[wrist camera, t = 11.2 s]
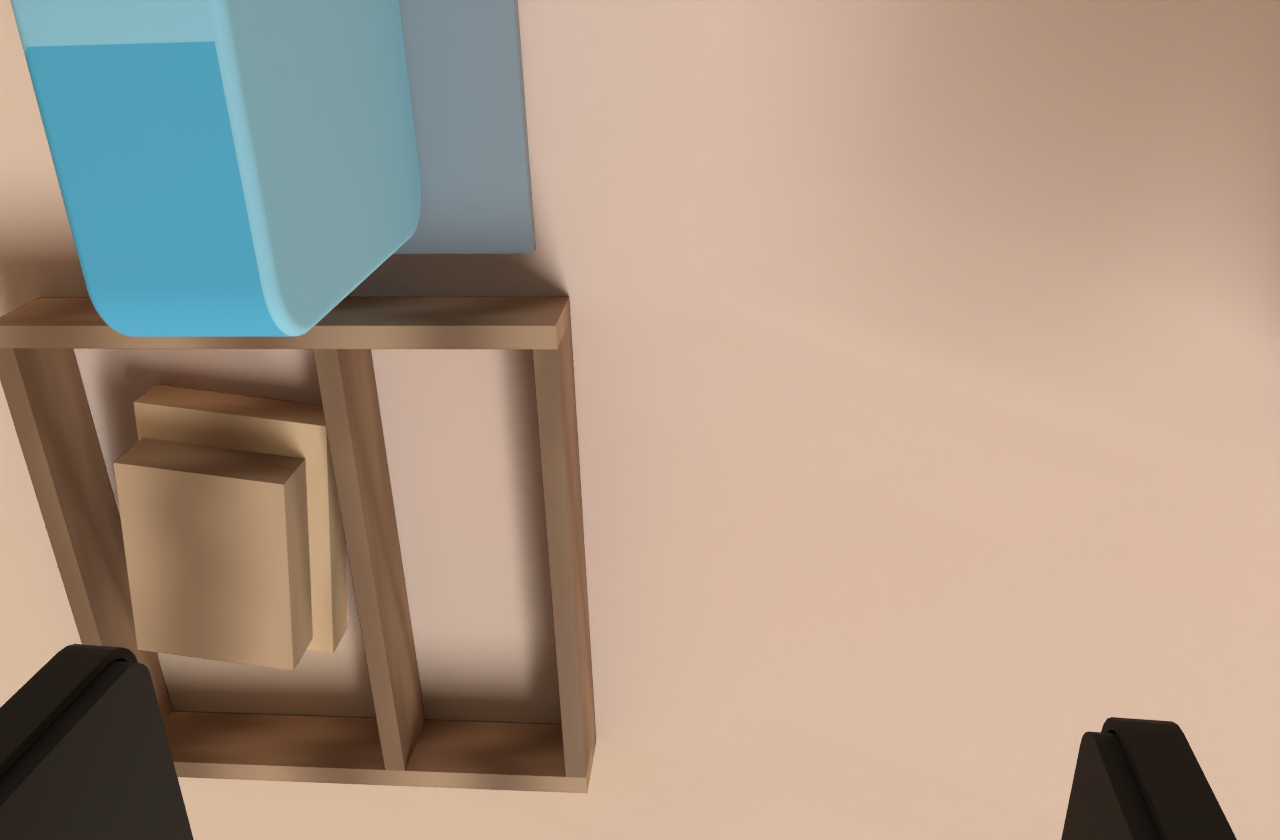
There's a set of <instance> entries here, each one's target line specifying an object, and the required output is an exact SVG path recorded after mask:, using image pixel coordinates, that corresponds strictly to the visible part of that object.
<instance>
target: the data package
mask: <svg viewBox="0 0 1280 840" xmlns="http://www.w3.org/2000/svg"><path fill="white" fill-rule="evenodd" d="M11 4H12V8H13V12H14V15H15V19H16V23H17V27H18V31H19V34H20V38H21V42H22V46H23V50H24V53H25V57H26V61H27V65H28V68H29V72H30V76H31V80H32V84H33V87H34V91H35V95H36V99H37V102H38V106H39V110H40V114H41V118H42V121H43V125H44V129H45V133H46V137H47V140H48V144H49V148H50V152H51V155H52V159H53V163H54V167H55V171H56V174H57V178H58V182H59V186H60V189H61V193H62V197H63V201H64V205H65V208H66V212H67V216H68V220H69V224H70V227H71V231H72V235H73V239H74V242H75V246H76V250H77V254H78V258H79V261H80V265H81V269H82V273H83V276H84V280H85V284H86V287H87V291H88V294H89V296H90V299H91V301H92V303H93V305H94V307H95V309H96V311H97V312H98V314H99V315H100V317H101V318H102V319H103V320H104V322H105V323H106V324H107V325H108V326H110V327H111V328H112V329H114V330H115V331H117V332H118V333H121V334H123V335H126V336H131V337H290V336H300V335H302V334H305V333H306V332H308V331H309V330H310V329H311V328H312V327H314V326H315V325H316V324H317V323H318V322H319V321H320V320H321V319H322V318H323V317H324V316H326V315H327V314H328V313H329V312H330V311H331V310H332V309H333V308H334V307H335V306H336V305H338V304H339V303H340V302H341V301H342V300H343V299H344V298H345V297H346V296H347V295H348V294H350V293H351V292H352V291H353V290H354V289H355V288H356V287H357V286H358V285H359V284H360V283H362V282H363V281H364V280H365V279H366V278H367V277H368V276H369V275H370V274H371V273H372V272H374V271H375V270H376V269H377V268H378V267H379V266H380V265H381V264H382V263H383V262H384V261H386V260H387V259H388V258H389V257H390V256H391V255H392V254H393V253H394V252H395V251H396V250H398V249H399V248H400V247H401V246H402V245H403V244H404V243H405V242H406V241H407V240H408V239H410V238H411V236H412V235H413V234H414V232H415V230H416V228H417V225H418V222H419V217H420V209H421V180H420V171H419V163H418V155H417V146H416V138H415V130H414V121H413V113H412V104H411V96H410V88H409V79H408V71H407V63H406V54H405V46H404V38H403V29H402V21H401V13H400V4H399V0H11Z"/></svg>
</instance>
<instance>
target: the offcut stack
mask: <svg viewBox="0 0 1280 840" xmlns="http://www.w3.org/2000/svg"><path fill="white" fill-rule="evenodd" d="M134 410H135V419H136V427H137V436H138V442H137V443H136V444H135V445H134V446H133V447H132V448H130V449H129V450H128V451H127V452H126V453H124V454H123V455H122V456H121V457H120V458H118V459H117V460H116V461H115V462H114V463H113V464H114V471H115V479H116V487H117V494H118V502H119V510H120V517H121V525H122V533H123V540H124V548H125V556H126V563H127V571H128V579H129V586H130V594H131V602H132V609H133V617H134V625H135V632H136V640H137V648H138V650H144V651H151V652H159V653H166V654H174V655H181V656H189V657H196V658H204V659H211V660H219V661H226V662H234V663H241V664H249V665H256V666H264V667H271V668H279V669H286V670H294V669H295V667H296V666H297V664H298V662H299V661H300V659H301V657H302V656H303V654H304V652H305V651H306V650H313V651H321V652H328V653H334V651H335V649H336V647H337V646H338V644H339V642H340V640H341V639H342V637H343V635H344V633H345V631H346V630H347V602H346V562H345V532H344V526H343V520H342V514H341V509H340V503H339V497H338V491H337V485H336V479H335V474H334V468H333V462H332V456H331V450H330V445H329V439H328V433H327V427H326V421H325V415H324V410H323V405H316V404H308V403H300V402H292V401H284V400H277V399H269V398H261V397H253V396H245V395H237V394H229V393H221V392H214V391H206V390H198V389H190V388H182V387H174V386H166V385H158V384H156V385H155V386H154V387H152V388H151V389H150V390H149V391H147V392H146V393H145V394H143V395H142V396H141V397H139V398H138V399H137V400H136V401H134Z"/></svg>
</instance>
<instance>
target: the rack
mask: <svg viewBox="0 0 1280 840" xmlns="http://www.w3.org/2000/svg"><path fill="white" fill-rule="evenodd" d="M73 348H104V349H313V351H314V357H315V363H316V369H317V375H318V381H319V386H320V392H321V398H322V404H323V410H324V415H325V421H326V427H327V433H328V439H329V445H330V450H331V456H332V462H333V468H334V474H335V479H336V485H337V491H338V497H339V503H340V509H341V514H342V520H343V526H344V532H345V538H346V544H347V549H348V555H349V561H350V567H351V573H352V578H353V584H354V590H355V596H356V602H357V608H358V613H359V619H360V625H361V631H362V637H363V643H364V648H365V654H366V660H367V666H368V672H369V677H370V683H371V689H372V695H373V701H374V707H375V712H376V718H354V717H325V716H295V715H266V714H237V713H207V712H178V711H172V708H171V704H170V700H169V697H168V693H167V689H166V686H165V682H164V678H163V675H162V671H161V668H160V664H159V660H158V657H157V653H156V652H151V651H144V650H138V648H137V640H136V632H135V625H134V617H133V609H132V602H131V594H130V586H129V579H128V571H127V563H126V556H125V548H124V540H123V533H122V525H121V522H120V518H119V514H118V511H117V507H116V504H115V500H114V496H113V493H112V489H111V485H110V482H109V478H108V474H107V471H106V467H105V463H104V460H103V456H102V453H101V449H100V445H99V442H98V438H97V434H96V431H95V427H94V423H93V420H92V416H91V412H90V409H89V405H88V402H87V398H86V394H85V391H84V387H83V383H82V380H81V376H80V372H79V369H78V365H77V361H76V358H75V354H74V351H73ZM371 349H533V361H534V374H535V387H536V400H537V413H538V425H539V438H540V451H541V464H542V477H543V490H544V502H545V515H546V528H547V541H548V554H549V567H550V579H551V592H552V605H553V618H554V631H555V644H556V656H557V669H558V682H559V695H560V708H561V721H562V725H560V724H530V723H501V722H472V721H442V720H425V715H424V708H423V701H422V695H421V688H420V681H419V674H418V668H417V661H416V654H415V647H414V640H413V634H412V627H411V620H410V613H409V606H408V600H407V593H406V586H405V579H404V572H403V566H402V559H401V552H400V545H399V538H398V532H397V525H396V518H395V511H394V504H393V498H392V491H391V484H390V477H389V470H388V464H387V457H386V450H385V443H384V436H383V430H382V423H381V416H380V409H379V402H378V396H377V389H376V382H375V375H374V368H373V362H372V355H371ZM0 380H1V384H2V387H3V390H4V393H5V396H6V400H7V403H8V406H9V409H10V413H11V416H12V419H13V422H14V426H15V429H16V432H17V435H18V438H19V442H20V445H21V448H22V451H23V455H24V458H25V461H26V464H27V468H28V471H29V474H30V477H31V480H32V484H33V487H34V490H35V493H36V497H37V500H38V503H39V506H40V510H41V513H42V516H43V519H44V522H45V526H46V529H47V532H48V535H49V539H50V542H51V545H52V548H53V552H54V555H55V558H56V561H57V564H58V568H59V571H60V574H61V577H62V581H63V584H64V587H65V590H66V594H67V597H68V600H69V603H70V606H71V610H72V613H73V616H74V619H75V623H76V626H77V629H78V632H79V635H80V639H81V642H82V645H96V646H110V647H123V648H126V649H129V650H130V651H131V652H132V653H133V654H134V655H135V656H136V659H137V661H138V663H141V664H144V665H145V666H146V667H147V668H148V670H149V672H150V674H151V678H152V682H153V685H154V689H155V693H156V697H157V701H158V705H159V709H160V712H161V716H162V720H163V724H164V728H165V732H166V736H167V739H168V743H169V747H170V751H171V755H172V759H173V763H174V766H175V770H176V774H177V777H191V778H216V779H242V780H267V781H292V782H317V783H342V784H367V785H392V786H417V787H442V788H467V789H492V790H517V791H542V792H567V793H587V791H588V785H589V779H590V774H591V768H592V762H593V756H594V751H595V745H596V728H595V712H594V695H593V679H592V662H591V646H590V630H589V613H588V597H587V580H586V564H585V547H584V531H583V514H582V498H581V482H580V465H579V449H578V432H577V416H576V399H575V383H574V366H573V350H572V334H571V317H570V301H569V296H561V297H345V298H344V299H343V300H342V301H341V302H340V303H339V304H338V305H336V306H335V307H334V308H333V309H332V310H331V311H330V312H329V313H328V314H327V315H326V316H324V317H323V318H322V319H321V320H320V321H319V322H318V323H317V324H316V325H315V326H314V327H312V328H311V329H310V330H309V331H308V332H306V333H305V334H302V335H300V336H290V337H131V336H126V335H123V334H121V333H118V332H117V331H115V330H114V329H112V328H111V327H110V326H108V325H107V324H106V323H105V322H104V320H103V319H102V318H101V317H100V315H99V314H98V312H97V311H96V309H95V307H94V305H93V303H92V301H91V299H90V298H37V299H35V300H33V301H31V302H29V303H27V304H25V305H23V306H21V307H19V308H17V309H16V310H14V311H12V312H10V313H8V314H6V315H4V316H2V317H0Z"/></svg>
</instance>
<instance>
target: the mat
mask: <svg viewBox="0 0 1280 840" xmlns="http://www.w3.org/2000/svg"><path fill="white" fill-rule="evenodd" d="M399 4H400V13H401V21H402V29H403V38H404V46H405V54H406V63H407V71H408V79H409V88H410V96H411V104H412V113H413V121H414V130H415V138H416V146H417V155H418V163H419V171H420V180H421V209H420V217H419V222H418V225H417V228H416V230H415V232H414V234H413V235H412V236H411V238H410V239H408V240H407V241H406V242H405V243H404V244H403V245H402V246H401V247H400V248H399V249H398V250H396V251H395V252H394V253H393V254H496V253H533V252H534V250H535V249H536V247H535V234H534V220H533V206H532V193H531V179H530V166H529V152H528V138H527V125H526V111H525V97H524V84H523V70H522V57H521V43H520V29H519V16H518V2H517V0H399Z"/></svg>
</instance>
